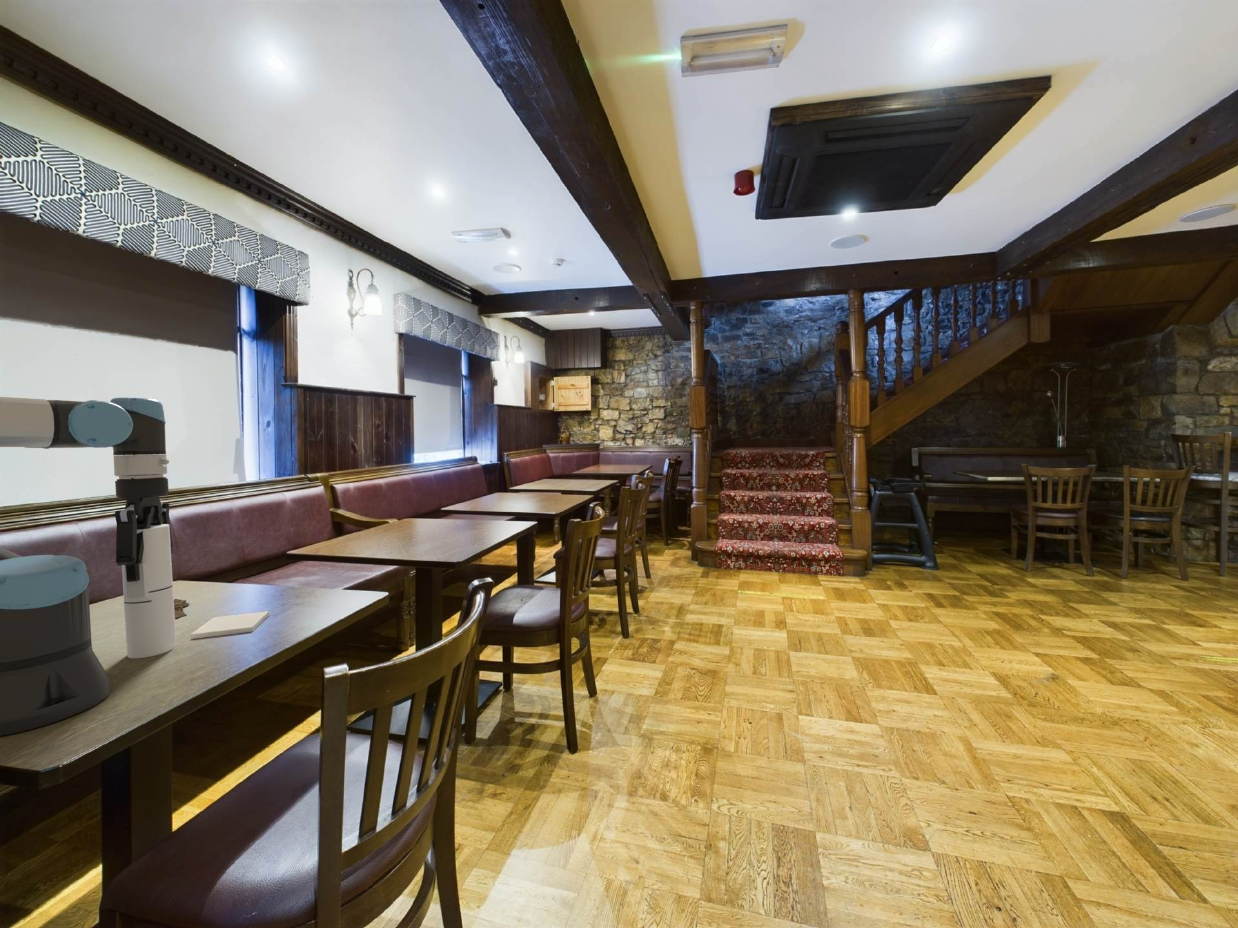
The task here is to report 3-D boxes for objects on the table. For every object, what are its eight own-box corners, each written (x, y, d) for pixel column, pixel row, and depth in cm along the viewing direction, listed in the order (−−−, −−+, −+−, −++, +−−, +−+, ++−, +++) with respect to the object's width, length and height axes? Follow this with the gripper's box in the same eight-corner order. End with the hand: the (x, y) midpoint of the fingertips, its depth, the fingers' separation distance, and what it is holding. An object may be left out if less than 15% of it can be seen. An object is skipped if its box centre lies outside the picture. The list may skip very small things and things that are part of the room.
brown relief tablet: (185, 620, 116) (185, 616, 116) (119, 632, 110) (119, 628, 110) (191, 595, 137) (191, 592, 137) (136, 604, 130) (136, 600, 130)
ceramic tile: (252, 631, 108) (252, 626, 108) (190, 638, 105) (190, 634, 105) (269, 615, 119) (269, 611, 119) (213, 621, 115) (213, 617, 115)
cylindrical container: (181, 647, 100) (174, 525, 99) (133, 661, 94) (125, 531, 93) (169, 640, 104) (162, 523, 103) (122, 653, 98) (114, 528, 97)
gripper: (135, 479, 89) (143, 604, 90) (190, 473, 108) (195, 576, 109) (81, 481, 87) (90, 609, 88) (147, 474, 106) (153, 580, 107)
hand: (148, 591), depth 98 cm, fingers closed on cylindrical container, 7 cm apart
